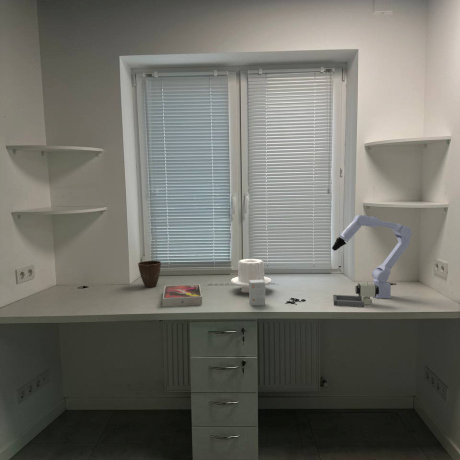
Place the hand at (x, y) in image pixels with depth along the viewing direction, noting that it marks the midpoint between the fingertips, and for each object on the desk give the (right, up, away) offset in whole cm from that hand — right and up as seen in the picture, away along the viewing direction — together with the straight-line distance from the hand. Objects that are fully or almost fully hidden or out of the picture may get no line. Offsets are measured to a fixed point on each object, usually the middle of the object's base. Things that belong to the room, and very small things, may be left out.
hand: (333, 249), depth 221 cm
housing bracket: (+7, -29, -8) cm, 31 cm away
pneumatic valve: (+15, -29, -10) cm, 35 cm away
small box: (-45, -30, -7) cm, 54 cm away
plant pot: (-113, -27, +35) cm, 121 cm away
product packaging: (-88, -30, +6) cm, 93 cm away
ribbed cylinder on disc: (-46, -27, +21) cm, 57 cm away
